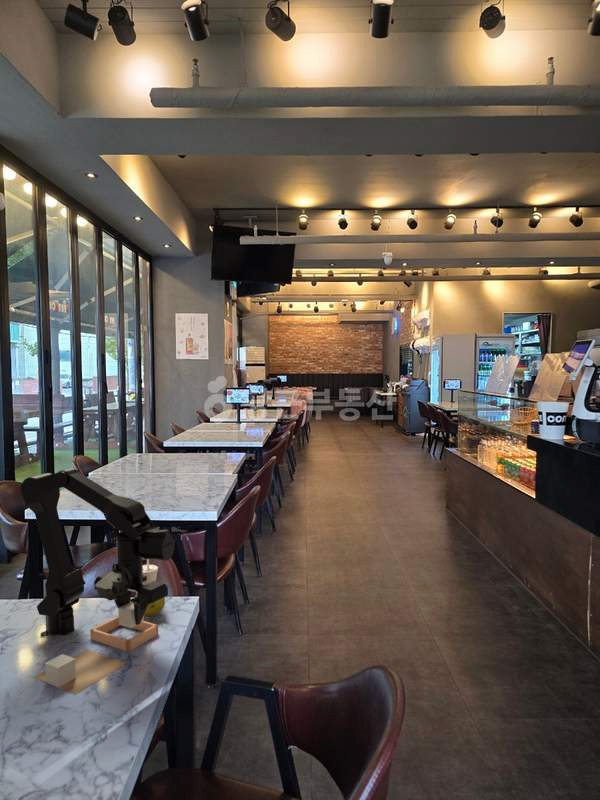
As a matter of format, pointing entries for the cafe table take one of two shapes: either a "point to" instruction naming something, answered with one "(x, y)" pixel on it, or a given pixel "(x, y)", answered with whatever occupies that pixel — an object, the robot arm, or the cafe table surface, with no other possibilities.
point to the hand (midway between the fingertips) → (131, 622)
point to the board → (88, 670)
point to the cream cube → (127, 615)
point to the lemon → (154, 607)
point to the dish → (121, 643)
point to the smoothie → (149, 572)
